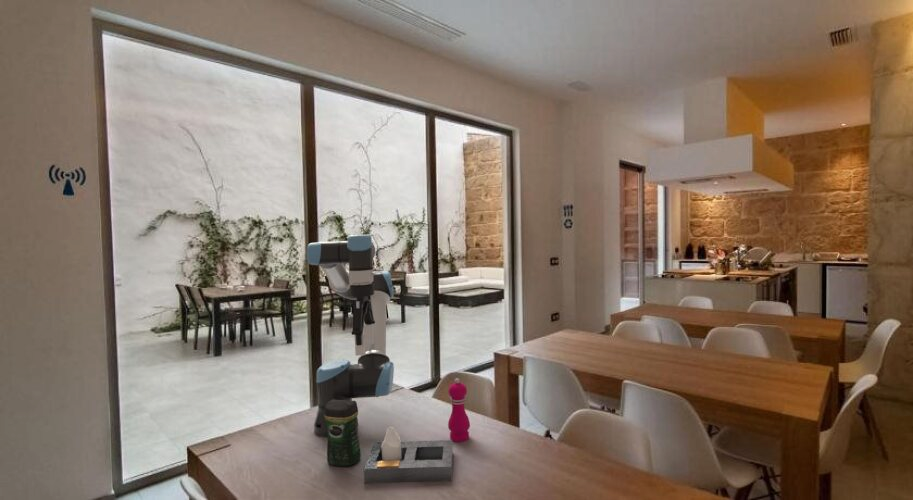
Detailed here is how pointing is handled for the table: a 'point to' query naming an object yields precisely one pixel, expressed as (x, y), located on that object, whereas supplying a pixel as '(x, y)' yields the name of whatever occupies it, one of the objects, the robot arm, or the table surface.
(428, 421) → the table surface
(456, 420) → the pepper mill
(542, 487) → the table surface
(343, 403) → the coffee jar
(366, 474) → the hole plate
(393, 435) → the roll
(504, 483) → the table surface
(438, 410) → the table surface
